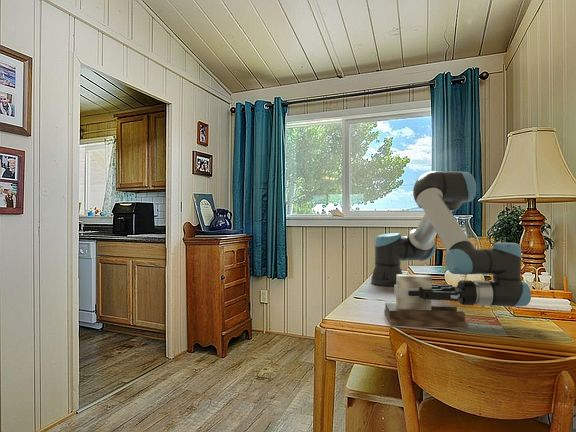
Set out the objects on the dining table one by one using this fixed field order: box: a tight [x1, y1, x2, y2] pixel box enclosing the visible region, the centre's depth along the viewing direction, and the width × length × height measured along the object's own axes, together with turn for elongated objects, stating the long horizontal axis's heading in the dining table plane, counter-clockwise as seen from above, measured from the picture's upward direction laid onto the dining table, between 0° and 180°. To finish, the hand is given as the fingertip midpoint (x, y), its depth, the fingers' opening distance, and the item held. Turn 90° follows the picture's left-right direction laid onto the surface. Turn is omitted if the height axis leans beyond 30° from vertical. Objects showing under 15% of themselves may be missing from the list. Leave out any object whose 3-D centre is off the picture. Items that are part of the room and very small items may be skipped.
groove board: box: [383, 302, 469, 329], centre depth 118 cm, size 22×14×4 cm, turn 83°
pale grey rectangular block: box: [395, 273, 433, 310], centre depth 118 cm, size 10×4×12 cm, turn 83°
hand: (395, 290), depth 118 cm, fingers closed on pale grey rectangular block, 3 cm apart
